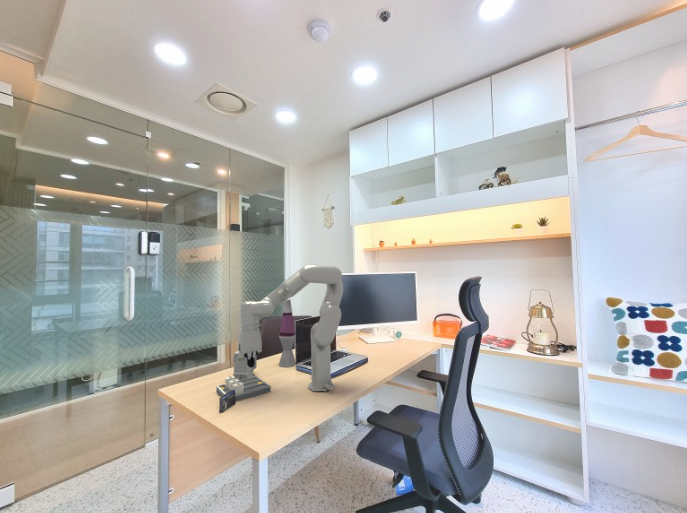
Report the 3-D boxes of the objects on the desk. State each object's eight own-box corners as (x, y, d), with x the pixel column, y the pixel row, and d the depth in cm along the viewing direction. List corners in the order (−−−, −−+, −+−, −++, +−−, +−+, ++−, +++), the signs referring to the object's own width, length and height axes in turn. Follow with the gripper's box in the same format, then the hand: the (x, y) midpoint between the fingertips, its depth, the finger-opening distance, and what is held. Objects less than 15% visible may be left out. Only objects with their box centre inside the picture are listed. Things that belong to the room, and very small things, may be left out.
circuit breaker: (257, 373, 162) (257, 346, 163) (246, 383, 148) (246, 353, 149) (244, 373, 163) (245, 346, 164) (232, 382, 149) (233, 353, 150)
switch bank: (270, 391, 137) (270, 385, 138) (227, 404, 125) (227, 397, 125) (256, 381, 151) (256, 375, 151) (216, 391, 138) (216, 385, 138)
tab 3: (243, 393, 131) (243, 382, 131) (234, 395, 128) (234, 385, 128) (241, 390, 133) (241, 380, 133) (232, 393, 130) (232, 383, 131)
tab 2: (239, 389, 135) (239, 379, 135) (230, 391, 132) (230, 381, 133) (237, 387, 137) (237, 377, 138) (228, 389, 135) (228, 379, 135)
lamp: (281, 361, 183) (281, 298, 185) (298, 361, 182) (298, 298, 184) (276, 367, 172) (276, 300, 174) (293, 367, 171) (293, 300, 173)
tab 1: (235, 385, 139) (235, 376, 139) (226, 387, 137) (227, 378, 137) (233, 383, 142) (233, 374, 142) (224, 386, 139) (225, 376, 139)
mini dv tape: (222, 412, 117) (222, 397, 118) (219, 412, 118) (219, 397, 118) (235, 403, 125) (235, 389, 125) (232, 403, 126) (232, 389, 126)
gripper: (261, 323, 143) (262, 361, 142) (231, 328, 134) (232, 368, 133) (268, 325, 137) (269, 364, 137) (236, 331, 128) (237, 372, 127)
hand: (251, 366), depth 135 cm, fingers closed
